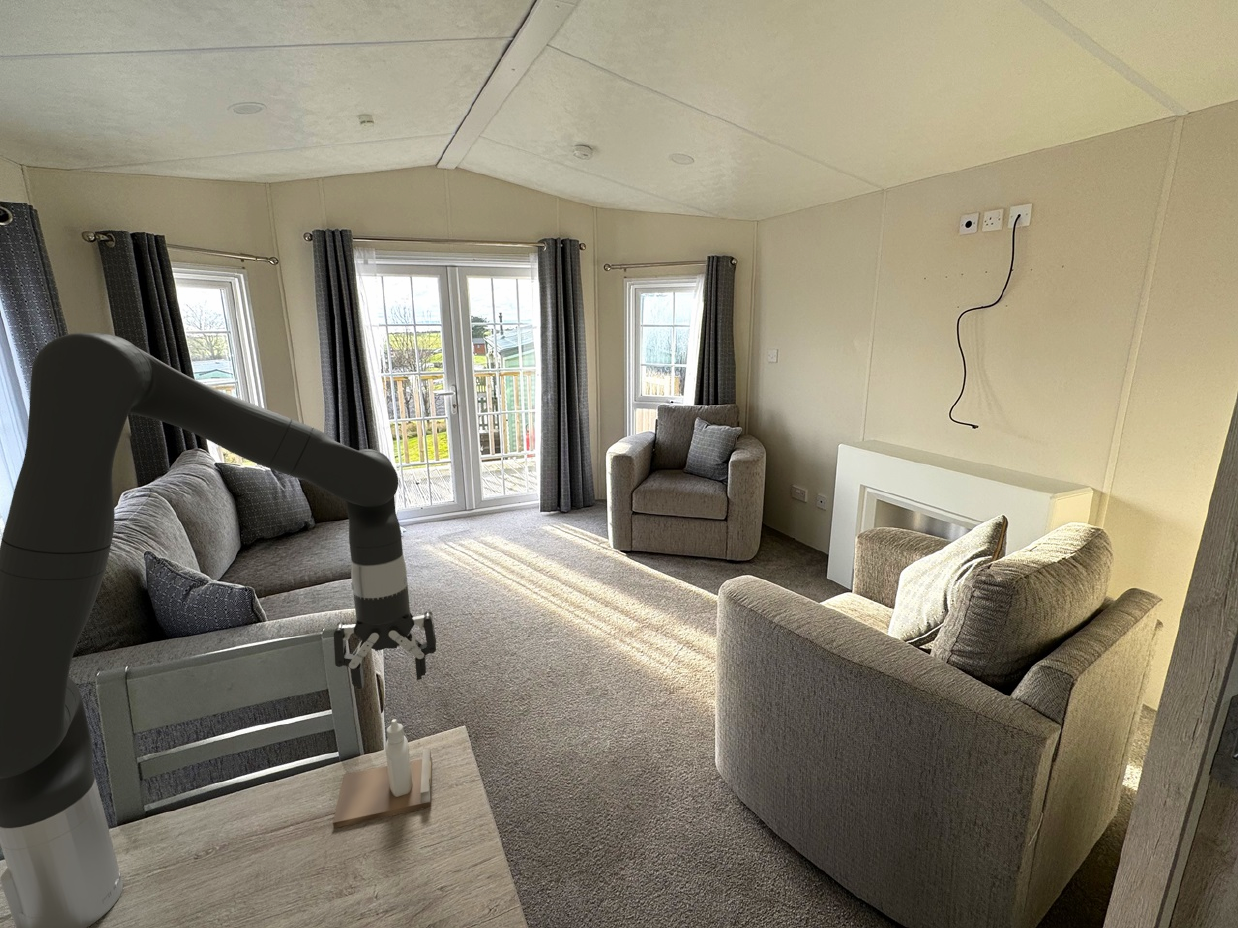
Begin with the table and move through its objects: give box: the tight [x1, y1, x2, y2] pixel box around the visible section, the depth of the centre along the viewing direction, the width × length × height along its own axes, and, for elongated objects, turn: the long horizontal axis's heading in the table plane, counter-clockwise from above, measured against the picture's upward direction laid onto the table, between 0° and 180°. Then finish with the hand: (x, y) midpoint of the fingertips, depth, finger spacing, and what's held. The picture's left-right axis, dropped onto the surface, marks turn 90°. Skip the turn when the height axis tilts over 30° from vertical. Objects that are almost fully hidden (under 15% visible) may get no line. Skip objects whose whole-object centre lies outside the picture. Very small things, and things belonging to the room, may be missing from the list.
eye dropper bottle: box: [384, 718, 412, 797], centre depth 94 cm, size 4×6×12 cm
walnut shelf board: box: [332, 747, 433, 829], centre depth 95 cm, size 14×10×3 cm
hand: (390, 681), depth 91 cm, fingers open, 8 cm apart
